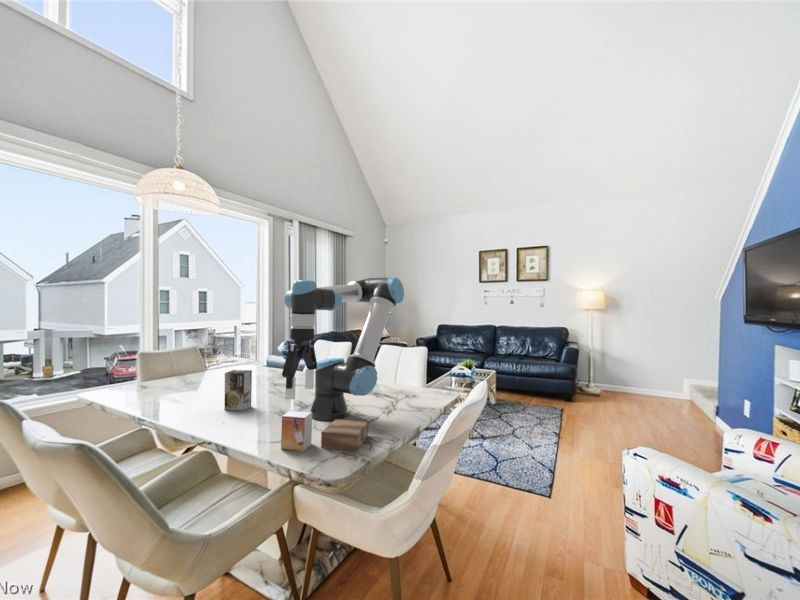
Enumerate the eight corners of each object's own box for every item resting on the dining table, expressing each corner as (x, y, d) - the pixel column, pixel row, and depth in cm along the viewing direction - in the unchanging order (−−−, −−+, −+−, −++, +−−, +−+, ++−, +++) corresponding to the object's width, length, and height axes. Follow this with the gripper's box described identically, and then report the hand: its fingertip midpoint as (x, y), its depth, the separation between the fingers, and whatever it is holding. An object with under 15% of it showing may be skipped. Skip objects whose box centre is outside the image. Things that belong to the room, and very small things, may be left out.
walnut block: (335, 433, 115) (335, 419, 115) (367, 436, 113) (368, 421, 113) (321, 447, 103) (321, 431, 103) (357, 451, 101) (357, 435, 101)
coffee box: (251, 406, 144) (252, 370, 144) (243, 411, 138) (244, 373, 138) (232, 405, 145) (233, 369, 145) (223, 410, 139) (224, 372, 139)
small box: (280, 449, 102) (281, 415, 102) (289, 442, 107) (289, 410, 107) (304, 451, 100) (304, 417, 101) (311, 444, 106) (312, 411, 106)
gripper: (308, 326, 118) (305, 384, 117) (271, 328, 93) (268, 403, 92) (327, 326, 117) (325, 385, 116) (295, 329, 92) (292, 404, 91)
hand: (300, 393), depth 104 cm, fingers open, 13 cm apart
